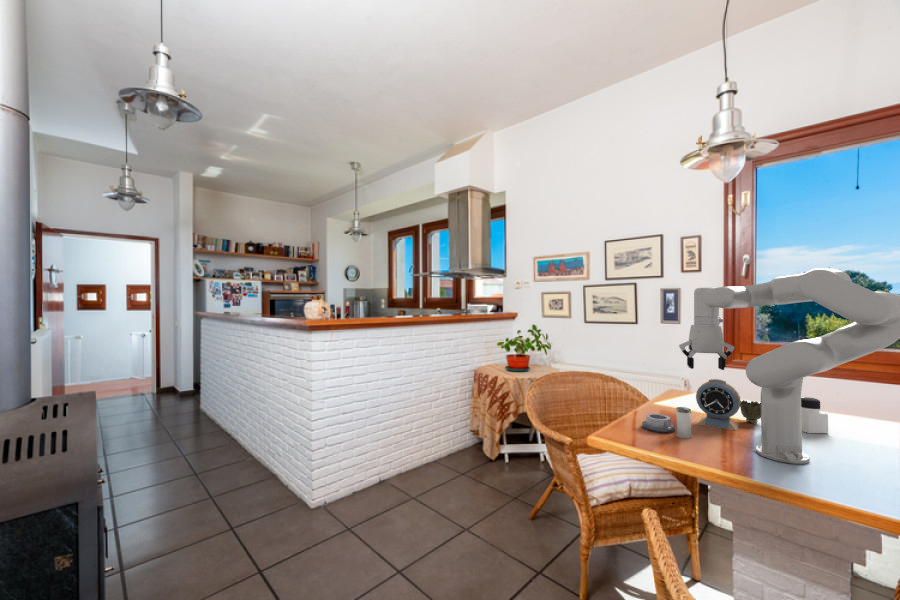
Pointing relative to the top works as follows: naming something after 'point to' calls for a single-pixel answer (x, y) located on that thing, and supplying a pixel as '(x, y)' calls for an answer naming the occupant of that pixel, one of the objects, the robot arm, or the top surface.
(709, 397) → the alarm clock
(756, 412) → the cup
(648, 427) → the ring
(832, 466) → the top surface
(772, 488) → the top surface
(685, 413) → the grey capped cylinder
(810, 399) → the medicine bottle
